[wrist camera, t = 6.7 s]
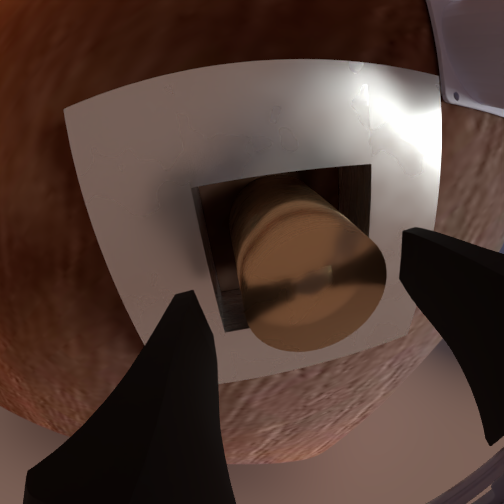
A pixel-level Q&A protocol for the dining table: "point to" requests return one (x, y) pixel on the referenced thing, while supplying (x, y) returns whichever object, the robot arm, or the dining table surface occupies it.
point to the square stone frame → (251, 165)
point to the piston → (302, 266)
